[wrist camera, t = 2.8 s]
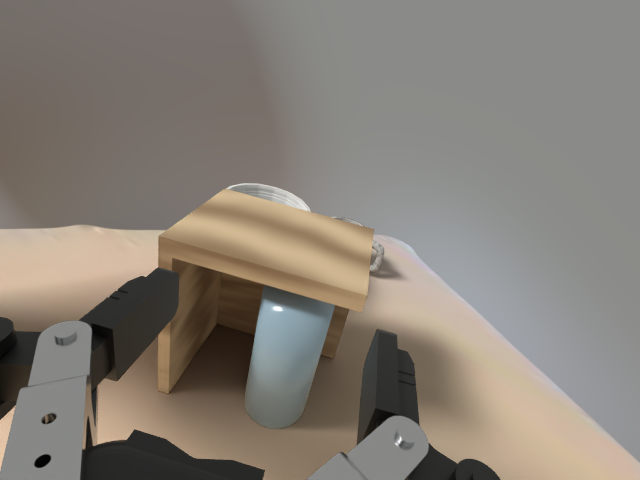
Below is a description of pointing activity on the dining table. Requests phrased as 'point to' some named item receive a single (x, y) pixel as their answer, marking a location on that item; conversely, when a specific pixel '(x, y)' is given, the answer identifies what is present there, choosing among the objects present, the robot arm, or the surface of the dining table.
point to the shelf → (255, 270)
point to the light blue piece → (285, 356)
